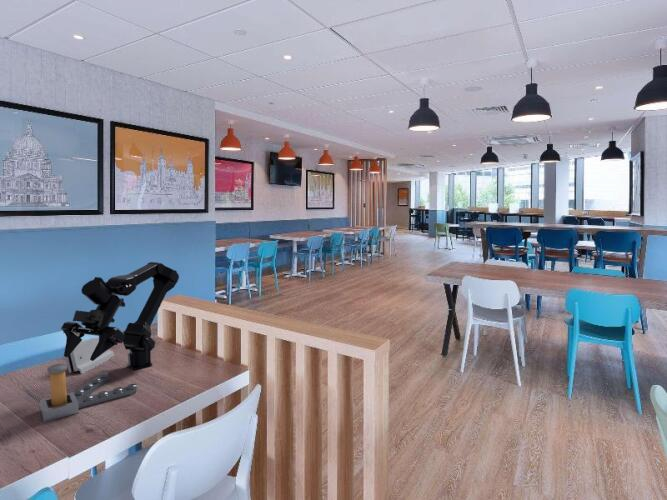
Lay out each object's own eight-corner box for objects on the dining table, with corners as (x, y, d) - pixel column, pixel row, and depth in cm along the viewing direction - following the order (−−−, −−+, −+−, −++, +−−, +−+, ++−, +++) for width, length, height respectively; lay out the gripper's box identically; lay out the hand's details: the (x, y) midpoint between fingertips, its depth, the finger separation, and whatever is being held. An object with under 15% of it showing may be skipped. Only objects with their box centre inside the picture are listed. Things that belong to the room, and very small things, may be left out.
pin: (60, 406, 118) (57, 363, 116) (73, 408, 117) (71, 365, 115) (45, 414, 113) (43, 369, 112) (59, 416, 112) (56, 371, 111)
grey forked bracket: (123, 374, 140) (123, 365, 140) (140, 395, 125) (140, 386, 125) (36, 394, 124) (35, 385, 124) (44, 422, 110) (43, 411, 109)
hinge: (81, 374, 139) (71, 346, 138) (70, 377, 140) (60, 350, 139) (115, 356, 155) (107, 331, 155) (105, 359, 156) (96, 334, 156)
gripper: (64, 296, 125) (33, 343, 116) (116, 301, 121) (88, 350, 112) (86, 314, 134) (58, 359, 125) (135, 319, 130) (111, 366, 121)
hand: (78, 358), depth 120 cm, fingers open, 9 cm apart
